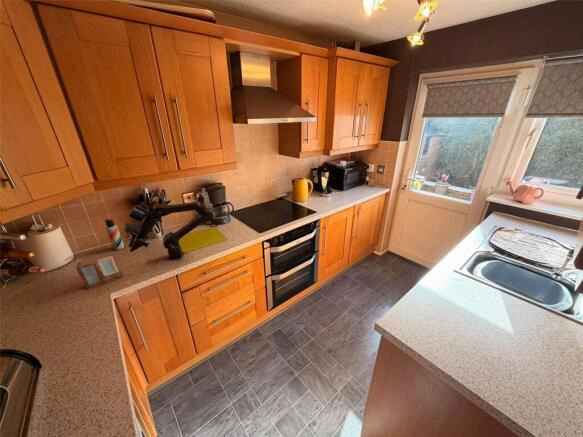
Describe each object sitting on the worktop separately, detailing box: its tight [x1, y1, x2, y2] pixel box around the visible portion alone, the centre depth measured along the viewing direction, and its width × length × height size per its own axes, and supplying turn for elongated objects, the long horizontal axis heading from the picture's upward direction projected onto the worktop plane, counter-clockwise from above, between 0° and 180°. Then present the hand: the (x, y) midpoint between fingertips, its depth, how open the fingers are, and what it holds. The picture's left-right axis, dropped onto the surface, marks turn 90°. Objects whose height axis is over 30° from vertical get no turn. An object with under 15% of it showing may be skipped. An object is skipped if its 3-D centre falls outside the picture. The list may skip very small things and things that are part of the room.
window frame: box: [76, 261, 122, 290], centre depth 115 cm, size 14×5×13 cm, turn 128°
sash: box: [96, 255, 119, 277], centre depth 118 cm, size 6×1×10 cm, turn 128°
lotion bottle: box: [104, 218, 125, 251], centre depth 142 cm, size 6×6×20 cm
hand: (129, 249), depth 122 cm, fingers open, 5 cm apart
